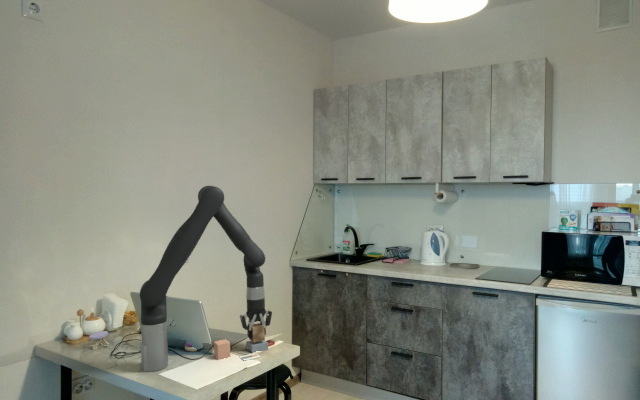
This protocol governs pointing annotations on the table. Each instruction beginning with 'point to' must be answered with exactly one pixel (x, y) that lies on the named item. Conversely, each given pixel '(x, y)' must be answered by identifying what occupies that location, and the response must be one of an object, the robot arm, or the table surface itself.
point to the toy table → (99, 338)
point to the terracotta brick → (222, 349)
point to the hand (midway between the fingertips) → (256, 337)
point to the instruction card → (250, 356)
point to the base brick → (257, 346)
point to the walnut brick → (258, 333)
